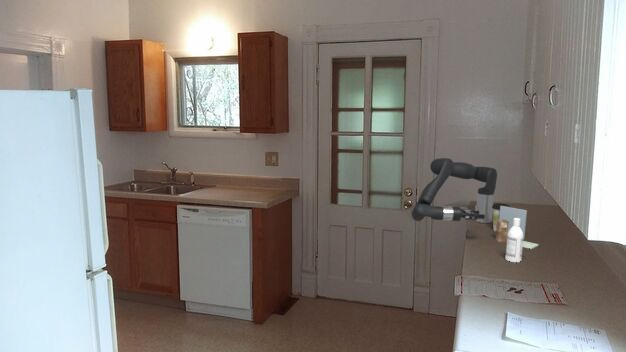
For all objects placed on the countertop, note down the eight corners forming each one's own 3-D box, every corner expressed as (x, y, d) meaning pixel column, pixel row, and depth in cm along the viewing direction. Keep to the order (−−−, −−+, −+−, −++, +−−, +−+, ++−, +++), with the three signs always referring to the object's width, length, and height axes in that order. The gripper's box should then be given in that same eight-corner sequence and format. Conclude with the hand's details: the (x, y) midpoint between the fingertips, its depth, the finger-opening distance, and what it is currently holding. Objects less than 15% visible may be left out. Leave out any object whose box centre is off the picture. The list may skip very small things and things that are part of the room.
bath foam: (516, 257, 236) (520, 216, 233) (524, 262, 230) (528, 220, 226) (502, 258, 236) (506, 216, 232) (509, 263, 229) (513, 220, 226)
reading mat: (513, 244, 257) (513, 243, 257) (521, 241, 263) (521, 240, 263) (531, 249, 251) (531, 247, 251) (538, 245, 257) (538, 244, 257)
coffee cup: (488, 231, 281) (490, 205, 279) (491, 227, 290) (493, 202, 288) (507, 234, 277) (509, 207, 274) (509, 230, 286) (511, 204, 283)
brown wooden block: (498, 242, 261) (500, 221, 259) (495, 239, 266) (496, 219, 264) (506, 242, 261) (508, 222, 259) (503, 239, 266) (505, 219, 264)
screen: (496, 235, 274) (498, 206, 272) (501, 233, 279) (503, 205, 276) (521, 240, 265) (524, 211, 262) (526, 238, 269) (528, 209, 266)
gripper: (454, 209, 253) (486, 210, 253) (447, 203, 267) (477, 204, 267) (453, 224, 255) (485, 225, 254) (446, 217, 269) (476, 218, 269)
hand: (481, 214), depth 261 cm, fingers open, 8 cm apart
